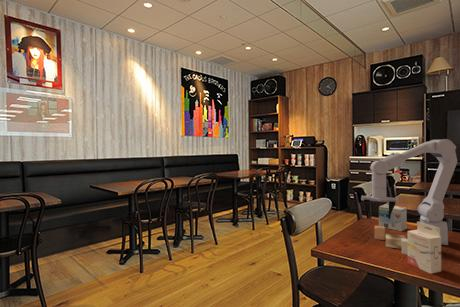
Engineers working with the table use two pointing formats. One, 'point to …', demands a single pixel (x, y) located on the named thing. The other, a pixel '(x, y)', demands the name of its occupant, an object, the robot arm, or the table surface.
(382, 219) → the light bulb box
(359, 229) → the table surface
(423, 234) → the ink cartridge box
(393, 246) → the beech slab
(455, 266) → the table surface
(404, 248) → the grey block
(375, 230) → the terracotta block
